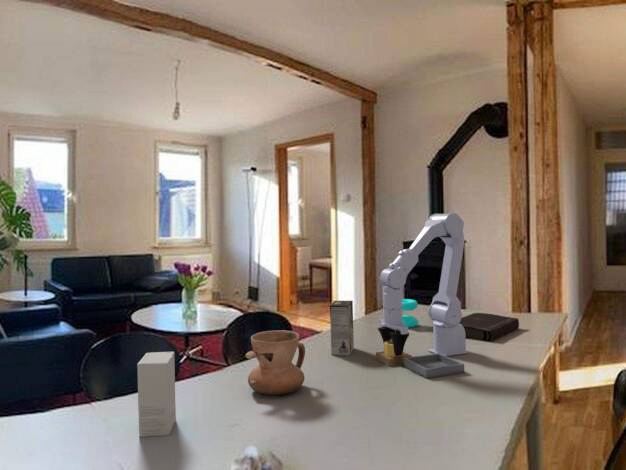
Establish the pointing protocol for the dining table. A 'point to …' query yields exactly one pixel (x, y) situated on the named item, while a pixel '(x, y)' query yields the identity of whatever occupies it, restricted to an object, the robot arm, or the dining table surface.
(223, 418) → the dining table surface
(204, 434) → the dining table surface
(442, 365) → the tray
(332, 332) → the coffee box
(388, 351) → the ring
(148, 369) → the skincare box
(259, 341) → the ceramic jug
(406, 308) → the donuts
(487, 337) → the diary
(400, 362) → the block
